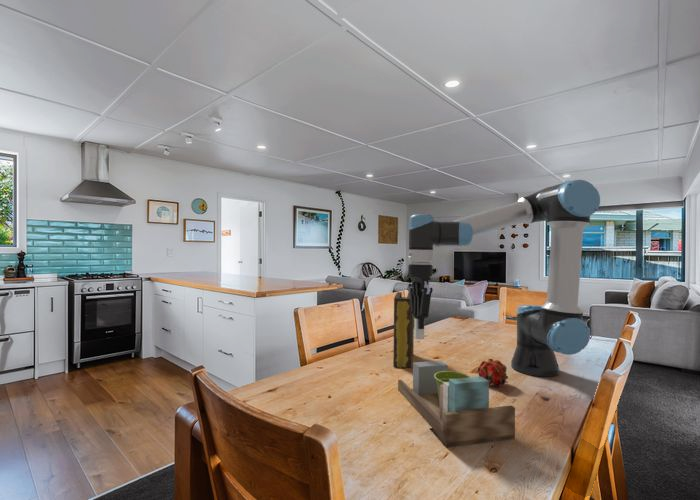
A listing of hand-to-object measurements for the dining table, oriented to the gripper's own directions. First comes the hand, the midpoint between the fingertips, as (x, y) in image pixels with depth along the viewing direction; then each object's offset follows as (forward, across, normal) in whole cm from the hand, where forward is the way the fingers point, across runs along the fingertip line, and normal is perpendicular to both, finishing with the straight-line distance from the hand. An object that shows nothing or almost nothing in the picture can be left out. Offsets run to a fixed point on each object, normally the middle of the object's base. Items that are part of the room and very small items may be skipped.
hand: (419, 338), depth 111 cm
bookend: (+14, +8, 0) cm, 16 cm away
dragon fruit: (+15, +5, +23) cm, 28 cm away
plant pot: (+14, +21, 0) cm, 25 cm away
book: (+15, -25, +5) cm, 29 cm away
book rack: (+15, +20, 0) cm, 24 cm away
